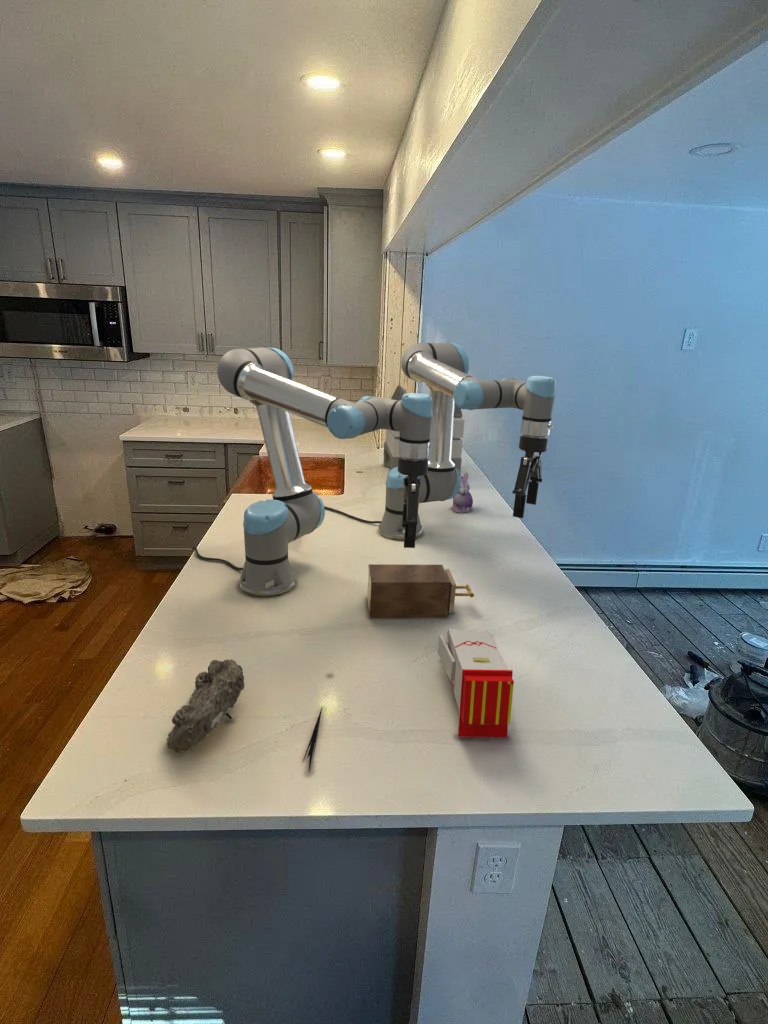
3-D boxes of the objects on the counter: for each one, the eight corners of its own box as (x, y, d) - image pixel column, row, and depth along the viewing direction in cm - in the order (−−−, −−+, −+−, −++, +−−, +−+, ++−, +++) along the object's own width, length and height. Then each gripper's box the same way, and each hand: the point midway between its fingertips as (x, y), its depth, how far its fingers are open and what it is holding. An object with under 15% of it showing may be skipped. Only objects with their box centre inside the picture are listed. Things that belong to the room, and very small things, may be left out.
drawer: (466, 596, 157) (469, 568, 154) (474, 613, 148) (477, 584, 145) (378, 596, 154) (379, 568, 151) (381, 613, 145) (382, 584, 143)
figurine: (459, 514, 221) (463, 477, 216) (445, 506, 229) (448, 470, 224) (479, 511, 225) (483, 475, 220) (464, 503, 234) (467, 468, 228)
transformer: (382, 463, 289) (386, 382, 275) (445, 464, 293) (451, 384, 279) (390, 482, 257) (394, 392, 243) (460, 483, 261) (468, 394, 247)
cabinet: (439, 598, 157) (442, 564, 153) (446, 617, 147) (450, 582, 143) (367, 598, 155) (368, 564, 151) (369, 618, 145) (371, 582, 141)
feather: (331, 679, 122) (336, 673, 122) (307, 777, 96) (313, 769, 95) (324, 675, 122) (329, 669, 121) (298, 772, 95) (304, 764, 95)
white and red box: (488, 613, 130) (523, 677, 101) (484, 667, 133) (517, 744, 104) (435, 612, 130) (455, 676, 101) (432, 666, 133) (451, 743, 103)
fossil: (192, 660, 117) (244, 628, 112) (224, 691, 120) (276, 661, 115) (142, 746, 98) (202, 712, 93) (182, 779, 101) (242, 748, 96)
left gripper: (433, 472, 129) (426, 557, 136) (425, 446, 152) (419, 520, 159) (399, 470, 128) (394, 556, 136) (397, 445, 152) (392, 519, 159)
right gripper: (536, 445, 140) (526, 526, 147) (558, 430, 161) (548, 501, 168) (507, 441, 143) (498, 520, 150) (532, 426, 164) (523, 496, 171)
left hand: (408, 536), depth 147 cm, fingers open, 13 cm apart
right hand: (524, 510), depth 159 cm, fingers open, 13 cm apart
